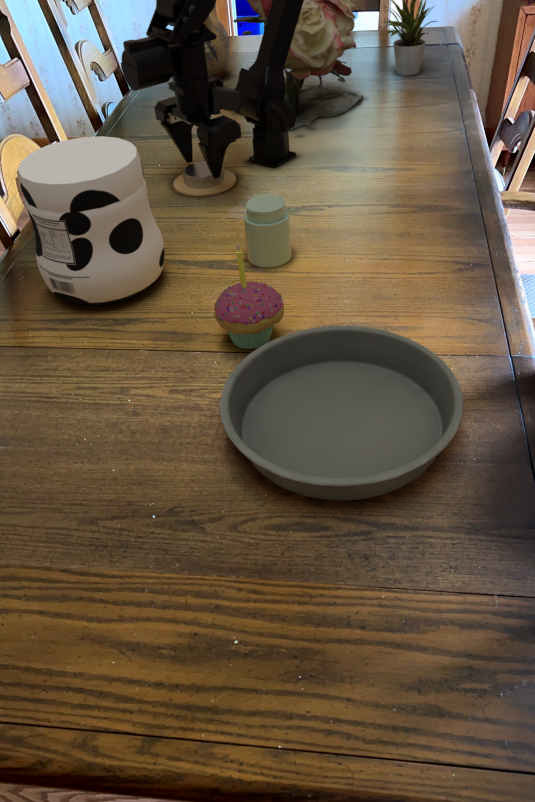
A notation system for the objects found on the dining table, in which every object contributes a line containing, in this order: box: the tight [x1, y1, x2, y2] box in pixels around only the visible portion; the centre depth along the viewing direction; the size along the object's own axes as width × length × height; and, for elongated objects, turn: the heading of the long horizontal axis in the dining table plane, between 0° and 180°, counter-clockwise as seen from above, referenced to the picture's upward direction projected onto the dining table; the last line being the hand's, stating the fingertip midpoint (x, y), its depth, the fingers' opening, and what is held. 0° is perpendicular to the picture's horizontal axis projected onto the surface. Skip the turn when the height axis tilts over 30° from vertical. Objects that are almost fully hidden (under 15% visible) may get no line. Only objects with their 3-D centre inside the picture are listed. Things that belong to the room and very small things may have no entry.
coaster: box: [172, 168, 237, 197], centre depth 125 cm, size 11×11×1 cm
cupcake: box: [213, 244, 285, 350], centre depth 85 cm, size 9×8×12 cm
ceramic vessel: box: [203, 2, 231, 79], centre depth 162 cm, size 16×9×25 cm, turn 174°
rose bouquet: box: [232, 0, 364, 130], centre depth 142 cm, size 26×29×30 cm
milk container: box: [17, 135, 166, 306], centre depth 96 cm, size 17×17×18 cm
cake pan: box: [219, 325, 464, 501], centre depth 74 cm, size 25×25×4 cm
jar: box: [243, 194, 293, 268], centre depth 101 cm, size 6×6×8 cm
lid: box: [183, 160, 224, 189], centre depth 124 cm, size 7×7×2 cm
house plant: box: [377, 0, 439, 76], centre depth 159 cm, size 14×14×16 cm
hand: (202, 169), depth 124 cm, fingers open, 9 cm apart
